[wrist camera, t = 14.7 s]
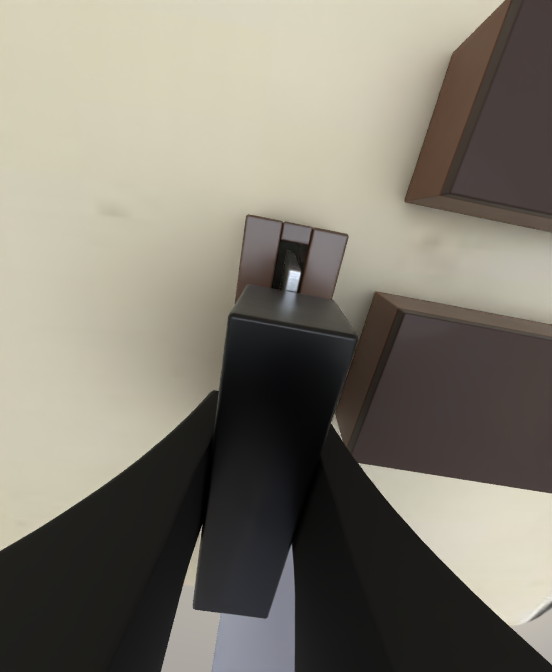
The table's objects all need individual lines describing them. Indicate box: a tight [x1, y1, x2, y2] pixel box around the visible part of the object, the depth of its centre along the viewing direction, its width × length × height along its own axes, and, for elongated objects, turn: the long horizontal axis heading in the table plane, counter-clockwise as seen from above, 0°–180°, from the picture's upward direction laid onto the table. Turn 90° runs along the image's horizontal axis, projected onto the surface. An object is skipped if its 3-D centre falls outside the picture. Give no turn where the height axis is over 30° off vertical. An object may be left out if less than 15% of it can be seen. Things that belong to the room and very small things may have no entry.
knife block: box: [235, 214, 348, 304], centre depth 13 cm, size 12×4×4 cm, turn 170°
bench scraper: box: [193, 250, 358, 619], centre depth 10 cm, size 10×2×8 cm, turn 169°
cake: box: [336, 292, 552, 493], centre depth 13 cm, size 8×11×4 cm
